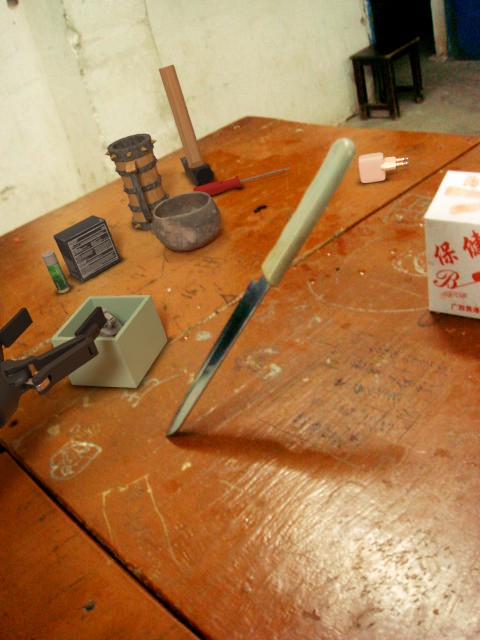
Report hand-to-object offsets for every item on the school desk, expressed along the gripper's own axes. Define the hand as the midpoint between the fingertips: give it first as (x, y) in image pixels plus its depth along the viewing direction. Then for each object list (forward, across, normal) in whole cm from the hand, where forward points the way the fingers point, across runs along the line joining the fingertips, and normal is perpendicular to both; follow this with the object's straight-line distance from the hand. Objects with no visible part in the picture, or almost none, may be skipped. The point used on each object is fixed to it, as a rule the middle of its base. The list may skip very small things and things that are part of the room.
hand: (64, 314), depth 96 cm
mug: (+61, -18, -16) cm, 66 cm away
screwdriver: (+78, 0, -16) cm, 80 cm away
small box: (+40, -24, -16) cm, 49 cm away
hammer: (+87, -16, -16) cm, 90 cm away
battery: (+31, -27, -16) cm, 44 cm away
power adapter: (+76, +36, -16) cm, 85 cm away
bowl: (+49, -2, -16) cm, 51 cm away
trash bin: (+8, 0, -15) cm, 17 cm away
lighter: (+8, +1, -15) cm, 17 cm away
